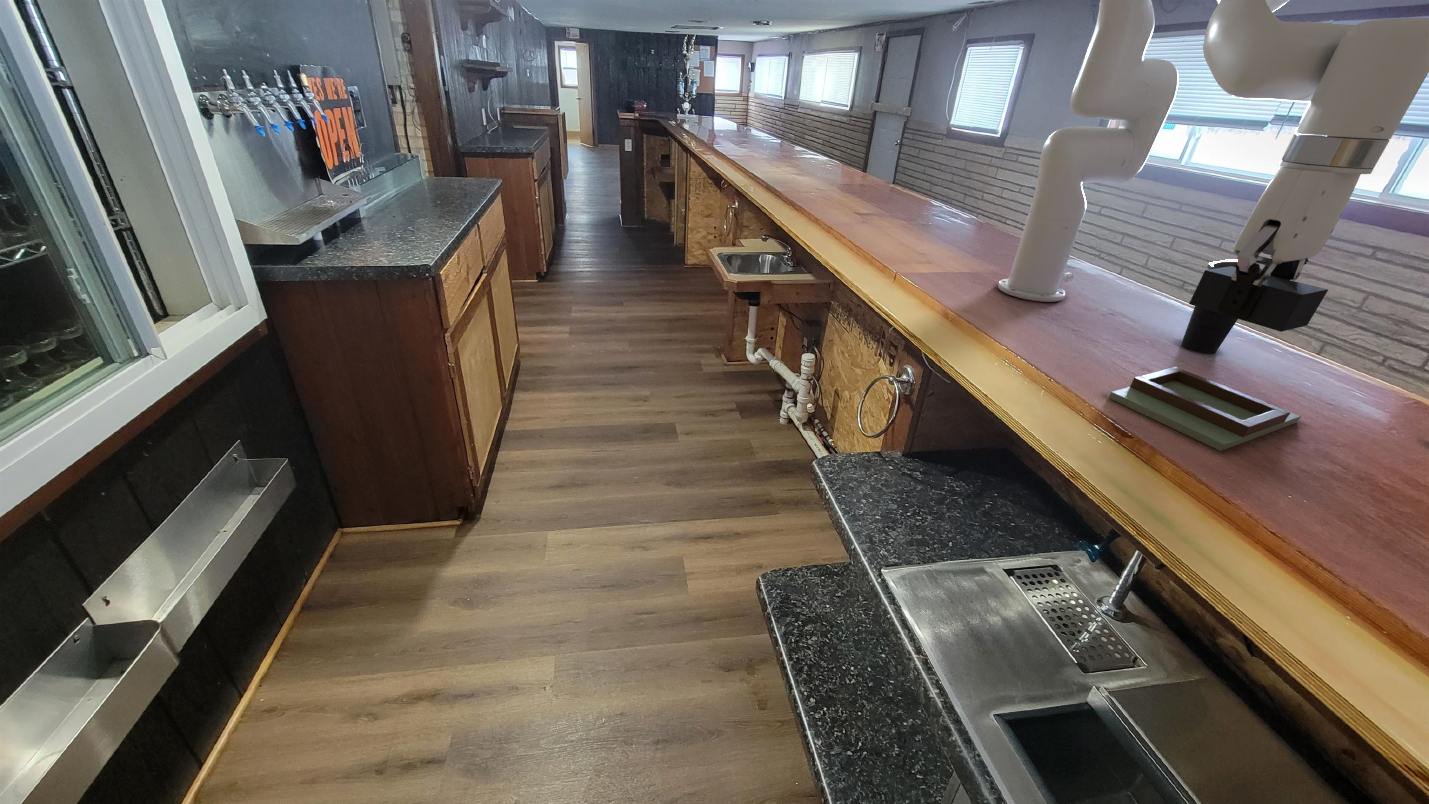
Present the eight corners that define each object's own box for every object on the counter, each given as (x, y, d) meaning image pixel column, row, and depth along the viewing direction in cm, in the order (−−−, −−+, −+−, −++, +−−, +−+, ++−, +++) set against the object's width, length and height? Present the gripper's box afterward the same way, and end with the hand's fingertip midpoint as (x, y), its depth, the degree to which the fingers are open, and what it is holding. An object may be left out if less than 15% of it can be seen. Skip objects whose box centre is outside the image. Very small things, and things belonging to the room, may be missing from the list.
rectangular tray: (1184, 377, 85) (1191, 362, 84) (1297, 422, 74) (1307, 406, 73) (1108, 397, 79) (1115, 382, 77) (1220, 451, 68) (1231, 433, 66)
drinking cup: (1175, 335, 100) (1231, 220, 91) (1229, 349, 96) (1294, 229, 86) (1166, 346, 96) (1224, 226, 86) (1222, 361, 91) (1290, 236, 81)
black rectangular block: (1188, 304, 73) (1204, 270, 71) (1214, 299, 75) (1231, 266, 73) (1281, 332, 65) (1302, 294, 63) (1307, 325, 68) (1328, 289, 65)
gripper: (1325, 151, 68) (1249, 295, 76) (1247, 152, 61) (1174, 309, 70) (1412, 159, 62) (1319, 314, 71) (1336, 160, 55) (1244, 331, 64)
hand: (1247, 310), depth 70 cm, fingers closed on black rectangular block, 6 cm apart
